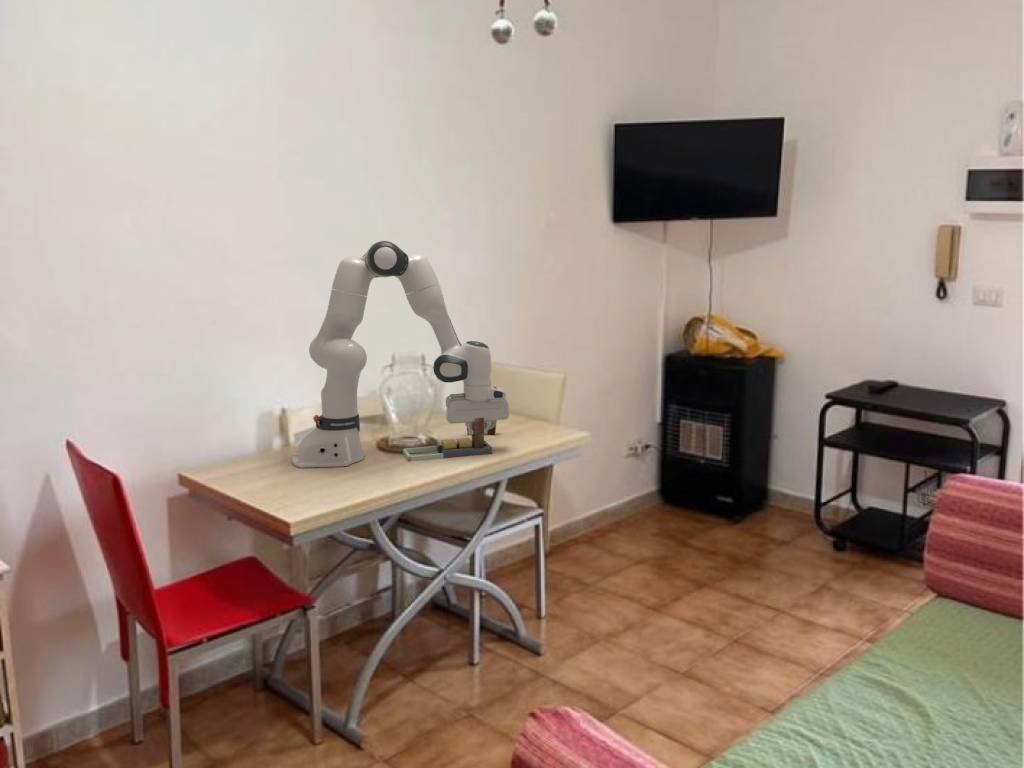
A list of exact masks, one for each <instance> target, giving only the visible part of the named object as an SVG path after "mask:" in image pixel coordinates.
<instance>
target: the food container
mask: <svg viewBox="0 0 1024 768" xmlns="http://www.w3.org/2000/svg"><path fill="white" fill-rule="evenodd" d="M497 421H498V420H492V421H491V425H490V426H489V428H488V434H484V436H496V430H497ZM485 425H486V423H485V421H484V427H485ZM469 427H470V428H471V429H472V422H471V425H469ZM466 433H467V436H469V434H468V428H467V427H466Z"/></svg>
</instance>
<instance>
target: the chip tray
mask: <svg viewBox="0 0 1024 768" xmlns="http://www.w3.org/2000/svg"><path fill="white" fill-rule="evenodd" d="M428 452H438V451H437V445H432V446H431V445H430V446H420V447H407V448H405V447H404V448H402V454H403V456H404V457H405V458H406V459H407V461H408V462H417V461H418V462H419V461H430V460H439V459H441V460H442V459H445V458H444V457H443V453H440V454H439V453H430V454H421V455H418V454H417V453H428ZM411 454H417V455H411Z"/></svg>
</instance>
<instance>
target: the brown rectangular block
mask: <svg viewBox="0 0 1024 768" xmlns="http://www.w3.org/2000/svg"><path fill="white" fill-rule="evenodd" d="M472 429H473V430H474V435H471V441H472V448H473V447H484V441H485V435H484V418H475V422H472Z"/></svg>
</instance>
